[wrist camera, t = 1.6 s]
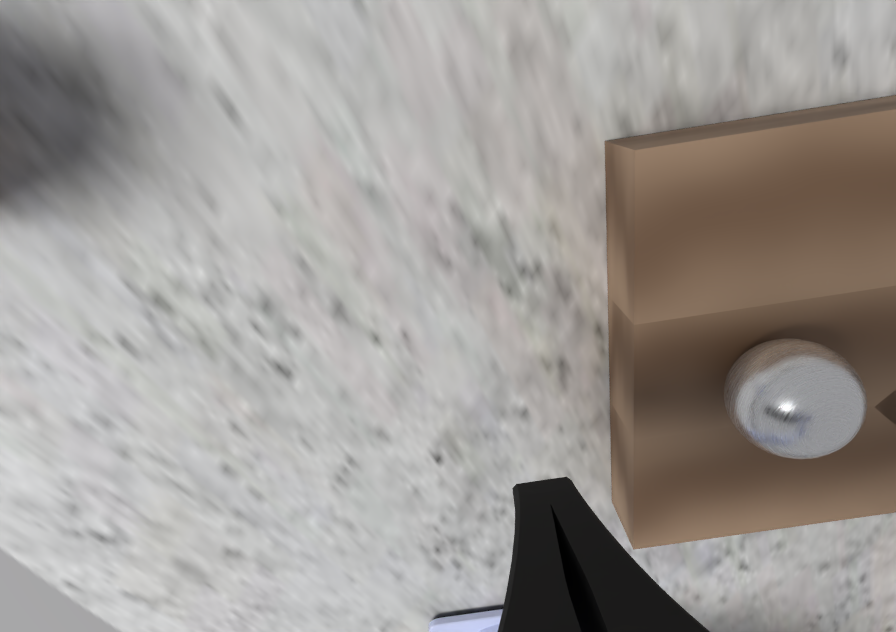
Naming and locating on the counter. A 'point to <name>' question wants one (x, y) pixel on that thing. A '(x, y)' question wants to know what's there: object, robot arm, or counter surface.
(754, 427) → the steel ball
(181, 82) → the counter surface
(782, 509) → the walnut plate
